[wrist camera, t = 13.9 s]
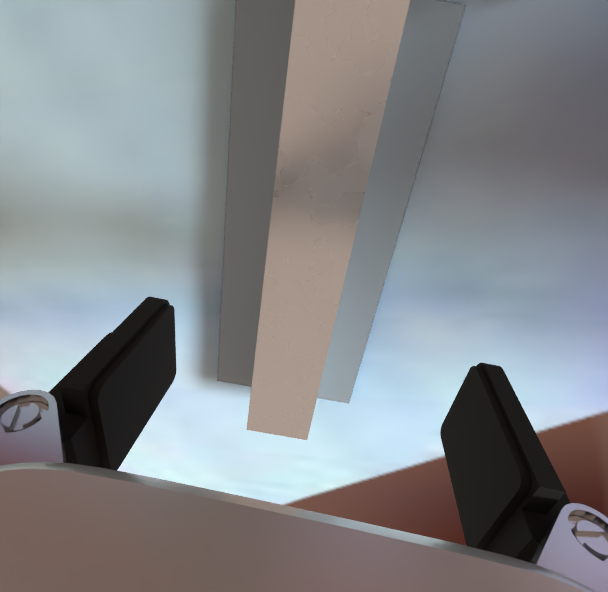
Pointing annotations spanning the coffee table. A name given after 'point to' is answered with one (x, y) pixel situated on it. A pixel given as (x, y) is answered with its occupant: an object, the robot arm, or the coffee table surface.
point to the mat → (262, 169)
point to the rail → (318, 195)
